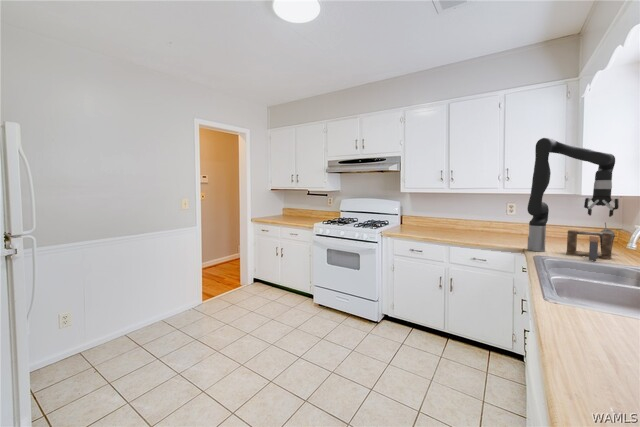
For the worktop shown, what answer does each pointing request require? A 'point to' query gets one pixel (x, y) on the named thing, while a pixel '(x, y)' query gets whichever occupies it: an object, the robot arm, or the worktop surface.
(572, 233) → the hook stand
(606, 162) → the robot arm
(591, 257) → the peach and grey blocks
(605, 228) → the beverage cup
